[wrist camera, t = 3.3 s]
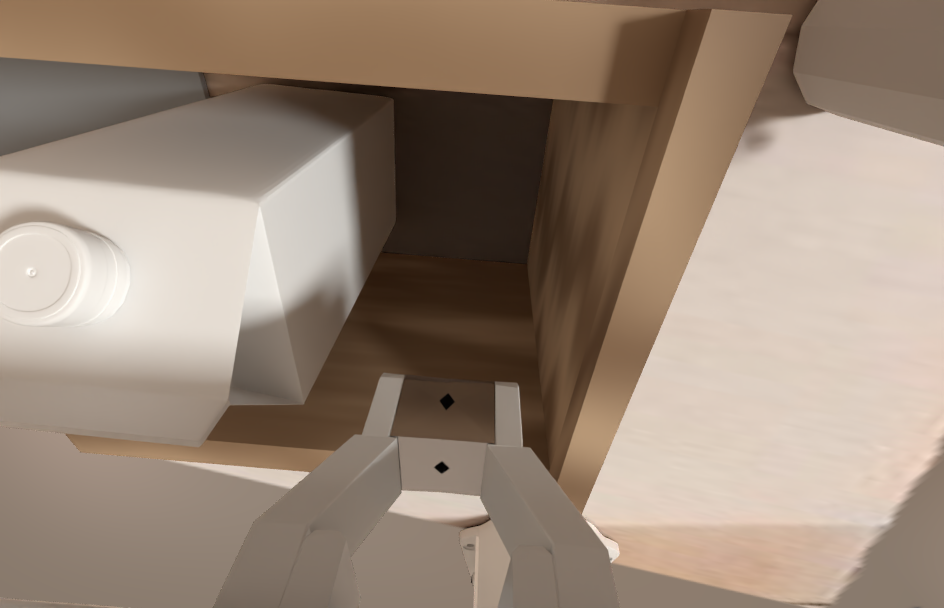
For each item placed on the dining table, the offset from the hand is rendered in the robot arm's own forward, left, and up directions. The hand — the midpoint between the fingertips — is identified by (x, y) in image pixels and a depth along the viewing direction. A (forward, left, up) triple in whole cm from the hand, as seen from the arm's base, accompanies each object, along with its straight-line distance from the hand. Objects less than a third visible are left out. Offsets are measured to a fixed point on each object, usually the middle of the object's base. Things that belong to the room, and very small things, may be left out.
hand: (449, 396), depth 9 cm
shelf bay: (0, +5, -17) cm, 18 cm away
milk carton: (0, +8, -18) cm, 20 cm away
